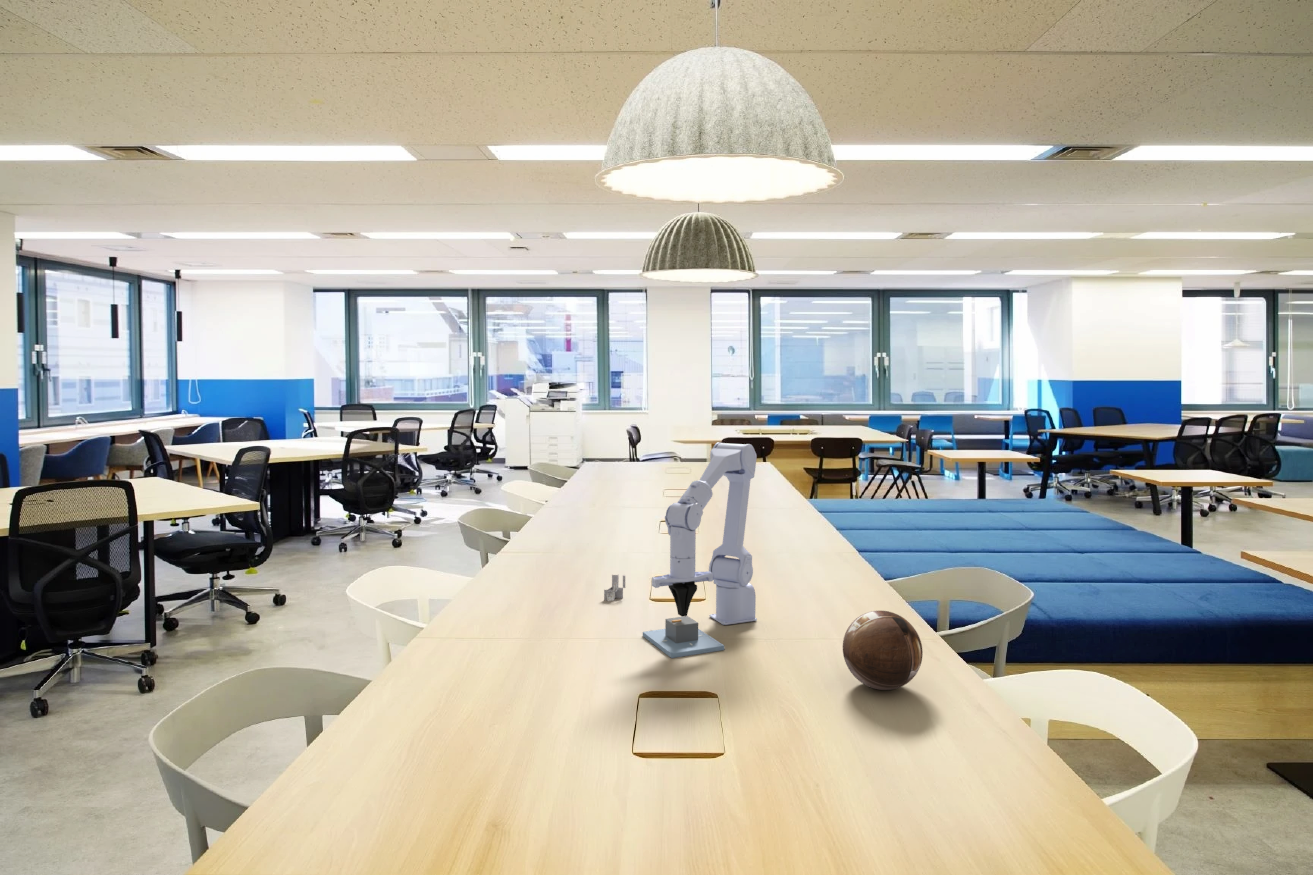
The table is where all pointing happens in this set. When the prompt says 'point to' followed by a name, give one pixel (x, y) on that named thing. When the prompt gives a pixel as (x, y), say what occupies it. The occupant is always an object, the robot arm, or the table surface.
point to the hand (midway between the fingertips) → (682, 615)
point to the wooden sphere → (882, 650)
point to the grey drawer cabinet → (681, 629)
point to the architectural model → (614, 589)
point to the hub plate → (683, 644)
